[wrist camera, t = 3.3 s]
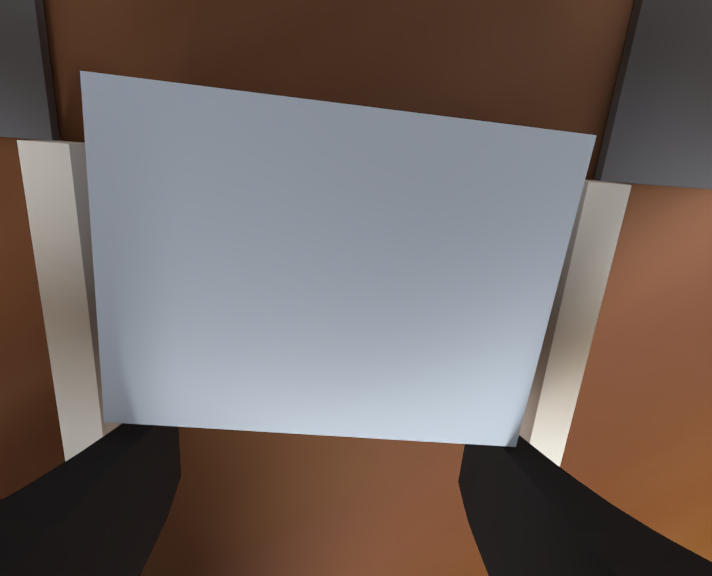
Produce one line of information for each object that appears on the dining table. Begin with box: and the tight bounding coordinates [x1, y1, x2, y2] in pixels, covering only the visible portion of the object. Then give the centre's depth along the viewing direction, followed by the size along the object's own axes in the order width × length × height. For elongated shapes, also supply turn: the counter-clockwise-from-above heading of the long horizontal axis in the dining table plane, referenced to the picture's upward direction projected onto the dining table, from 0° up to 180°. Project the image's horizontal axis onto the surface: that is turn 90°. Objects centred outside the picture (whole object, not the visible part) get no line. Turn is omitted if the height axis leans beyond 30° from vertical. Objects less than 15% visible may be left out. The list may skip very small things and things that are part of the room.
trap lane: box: [0, 0, 712, 467], centre depth 8 cm, size 24×23×3 cm
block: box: [80, 71, 597, 447], centre depth 10 cm, size 6×8×4 cm
